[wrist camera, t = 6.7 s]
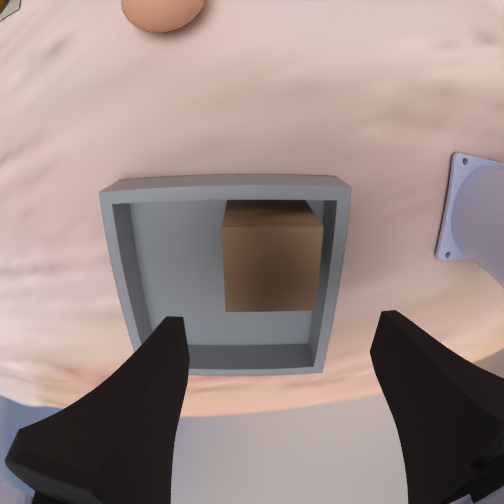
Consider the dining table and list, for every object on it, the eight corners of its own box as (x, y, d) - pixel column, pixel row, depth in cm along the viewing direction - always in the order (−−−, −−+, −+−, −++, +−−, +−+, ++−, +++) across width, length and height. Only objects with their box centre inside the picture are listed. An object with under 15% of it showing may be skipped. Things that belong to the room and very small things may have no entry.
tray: (335, 176, 17) (351, 187, 15) (314, 345, 23) (322, 372, 20) (119, 179, 17) (98, 192, 14) (149, 345, 23) (140, 371, 20)
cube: (305, 199, 17) (323, 227, 13) (300, 268, 19) (314, 310, 15) (227, 199, 17) (221, 227, 13) (229, 269, 19) (225, 312, 15)
